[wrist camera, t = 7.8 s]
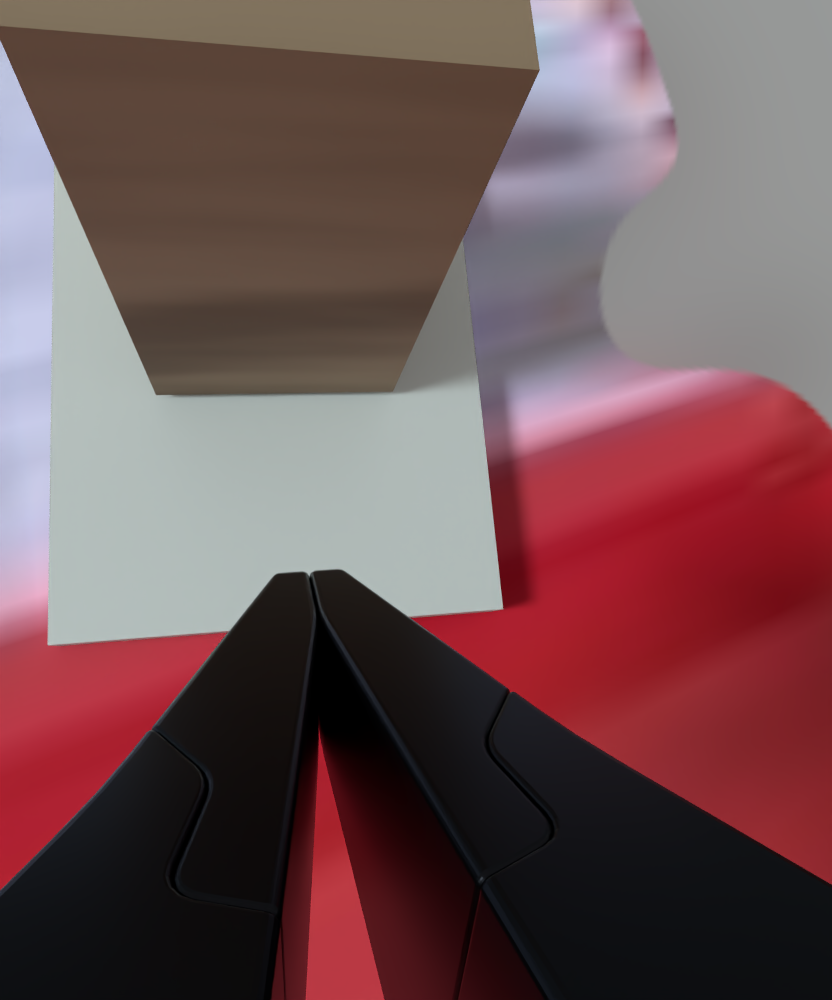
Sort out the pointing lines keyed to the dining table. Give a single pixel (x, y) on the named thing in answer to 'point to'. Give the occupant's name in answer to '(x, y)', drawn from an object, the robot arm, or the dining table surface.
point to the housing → (254, 477)
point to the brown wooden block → (273, 170)
